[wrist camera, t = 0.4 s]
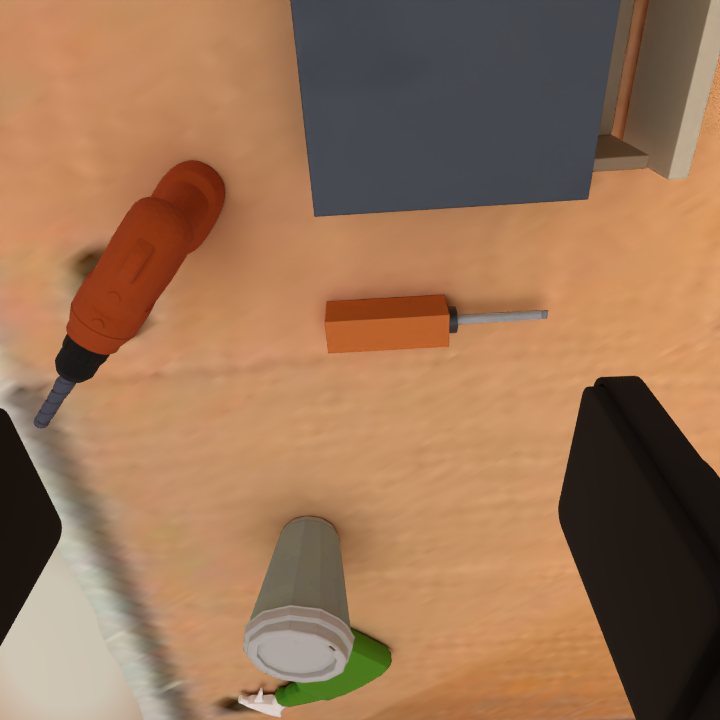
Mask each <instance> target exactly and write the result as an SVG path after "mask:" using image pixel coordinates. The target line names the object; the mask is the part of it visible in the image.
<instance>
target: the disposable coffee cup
mask: <svg viewBox="0 0 720 720" xmlns="http://www.w3.org/2000/svg"><path fill="white" fill-rule="evenodd" d="M354 638H355V637H354V635H353V634H352V632H351V629H350V621H349V613H348V605H347V597H346V589H345V581H344V572H343V564H342V556H341V548H340V540H339V537H338V535H337V533H336V531H335V529H334V527H333V525H332V524H331V523H329V522H327V521H325V520H324V519H322V518H319V517H311V516H304V517H300V518H296V519H293V520H292V521H291V522H290V523H288V524H287V525H286V526H285V528H284V529H283V530H282V531H281V534H280V537H279V540H278V542H277V545H276V548H275V551H274V554H273V557H272V559H271V562H270V565H269V568H268V571H267V573H266V576H265V579H264V582H263V585H262V588H261V590H260V593H259V596H258V599H257V602H256V604H255V607H254V610H253V613H252V616H251V619H250V621H249V622H248V623H247V624H246V625H245V633H244V641H243V642H244V649H243V651H244V652H245V653H246V654H247V656H248V658H249V659H250V660H251V661H252V662H253V663H254V665H255V666H256V667H257V668H258V669H259V670H260V671H262V672H265V673H267V674H269V675H271V676H273V677H276V678H278V679H281V680H287V681H294V682H301V683H308V682H318V681H327V680H329V679H331V678H333V677H335V676H337V675H339V674H341V673H342V672H343V671H344V668H345V665H346V663H348V661H349V657H350V654H351V651H352V647H353V641H354Z"/></svg>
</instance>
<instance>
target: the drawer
mask: <svg viewBox="0 0 720 720" xmlns="http://www.w3.org/2000/svg"><path fill="white" fill-rule="evenodd" d="M634 2H635V0H621V2H620V8H619V14H618V20H617V26H616V32H615V38H614V45H613V51H612V57H611V63H610V69H609V75H608V81H607V87H606V93H605V99H604V105H603V111H602V117H601V124H600V130H599V136H598V142H597V148H596V154H595V160H594V166H593V172H598V171H613V170H629V169H644V168H647V167H648V168H649V169H651V170H653V171H654V172H656V173H658V174H659V175H661V176H663V177H665V178H666V179H668V180H670V179H686V178H688V175H689V171H690V167H691V163H692V159H693V156H694V152H695V148H696V144H697V140H698V136H699V132H700V129H701V125H702V121H703V117H704V113H705V109H706V105H707V101H708V98H709V94H710V90H711V86H712V82H713V78H714V74H715V71H716V67H717V63H718V59H719V55H720V0H649V3H648V8H647V14H646V19H645V24H644V30H643V35H642V40H641V45H640V51H639V56H638V61H637V67H636V72H635V77H634V83H633V88H632V93H631V99H630V104H629V109H628V115H627V120H626V125H625V130H624V136H623V141H622V140H620V139H618V138H616V137H614V136H613V135H611V132H612V126H613V121H614V115H615V109H616V104H617V98H618V92H619V87H620V81H621V75H622V70H623V64H624V58H625V53H626V47H627V41H628V36H629V30H630V24H631V19H632V13H633V7H634Z"/></svg>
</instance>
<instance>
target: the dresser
mask: <svg viewBox="0 0 720 720" xmlns="http://www.w3.org/2000/svg"><path fill="white" fill-rule="evenodd" d="M290 1H291V10H292V19H293V28H294V37H295V46H296V55H297V64H298V73H299V82H300V91H301V100H302V109H303V118H304V127H305V136H306V145H307V154H308V163H309V172H310V181H311V190H312V198H313V207H314V216H315V217H318V216H334V215H350V214H366V213H381V212H397V211H413V210H428V209H444V208H460V207H475V206H491V205H507V204H523V203H538V202H554V201H570V200H585V199H588V196H589V190H590V184H591V178H592V172H593V166H594V160H595V154H596V148H597V142H598V136H599V130H600V124H601V117H602V111H603V105H604V99H605V93H606V87H607V81H608V75H609V69H610V63H611V57H612V51H613V45H614V38H615V32H616V26H617V20H618V14H619V8H620V2H621V0H290Z"/></svg>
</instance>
